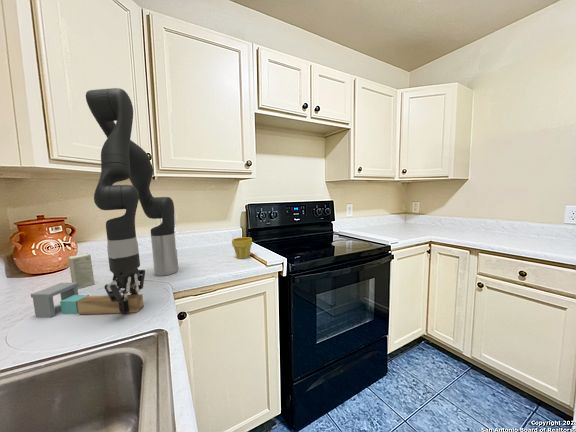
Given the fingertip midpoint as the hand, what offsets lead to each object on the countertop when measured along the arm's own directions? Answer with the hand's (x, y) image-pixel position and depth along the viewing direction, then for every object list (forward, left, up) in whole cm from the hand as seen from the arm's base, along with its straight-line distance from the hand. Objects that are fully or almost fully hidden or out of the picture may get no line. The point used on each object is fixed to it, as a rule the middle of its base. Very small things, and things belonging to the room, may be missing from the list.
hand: (129, 308), depth 74 cm
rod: (+1, -5, 0) cm, 5 cm away
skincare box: (-19, -34, -1) cm, 39 cm away
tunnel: (0, -23, -1) cm, 24 cm away
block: (0, -17, -1) cm, 18 cm away
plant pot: (-58, +19, -1) cm, 61 cm away
